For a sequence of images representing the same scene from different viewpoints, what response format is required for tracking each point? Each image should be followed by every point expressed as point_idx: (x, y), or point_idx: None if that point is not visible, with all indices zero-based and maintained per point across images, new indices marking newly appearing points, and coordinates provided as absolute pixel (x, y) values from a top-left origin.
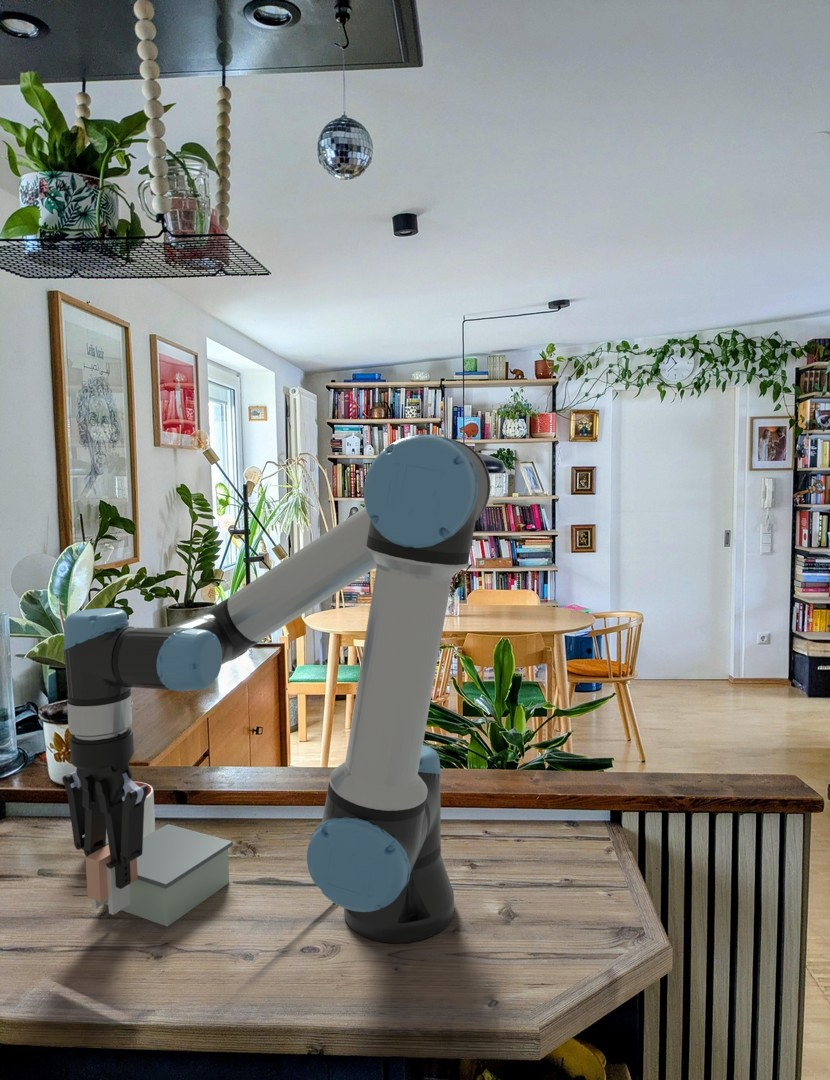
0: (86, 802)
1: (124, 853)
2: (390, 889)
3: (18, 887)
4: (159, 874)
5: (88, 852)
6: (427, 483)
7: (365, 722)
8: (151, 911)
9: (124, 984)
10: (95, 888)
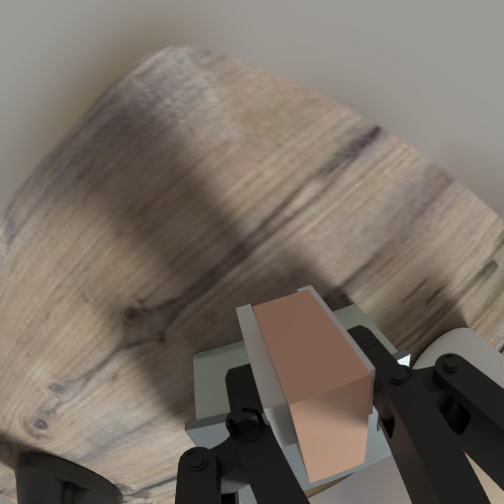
0: None
1: (196, 484)
2: None
3: (492, 226)
4: None
5: (394, 382)
6: None
7: None
8: (236, 363)
9: (93, 235)
10: (282, 321)
